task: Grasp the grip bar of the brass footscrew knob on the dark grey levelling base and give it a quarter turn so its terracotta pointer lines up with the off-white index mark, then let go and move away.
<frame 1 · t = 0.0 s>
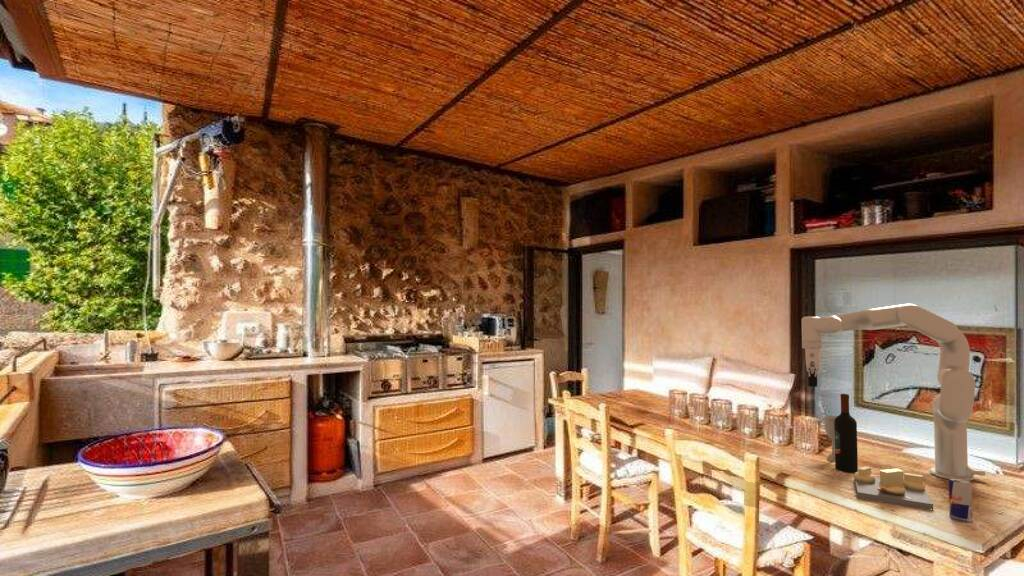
hand: (812, 384, 216), 31 cm above the table, tool pointing down, fingers open, 9 cm apart
chalice: (833, 460, 212), on the table
energy drink: (961, 520, 154), on the table
footscrew knob: (889, 481, 171), point 6 cm above the table, hinge at 0.0°
wine bottle: (846, 470, 199), on the table
levelling base: (890, 494, 174), on the table
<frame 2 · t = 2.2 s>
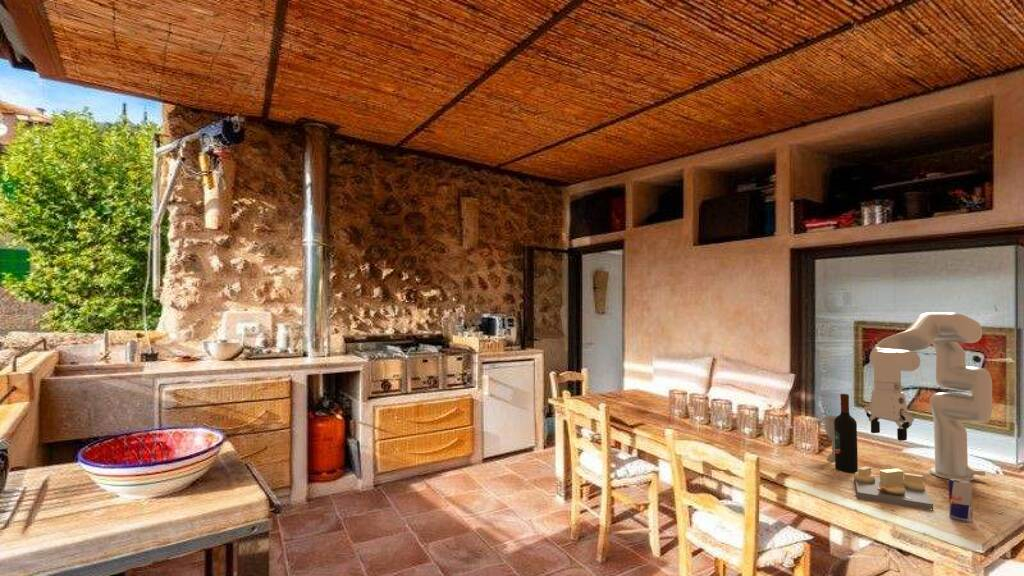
hand: (888, 436, 172), 21 cm above the table, tool pointing down, fingers open, 9 cm apart
nothing on the table moved.
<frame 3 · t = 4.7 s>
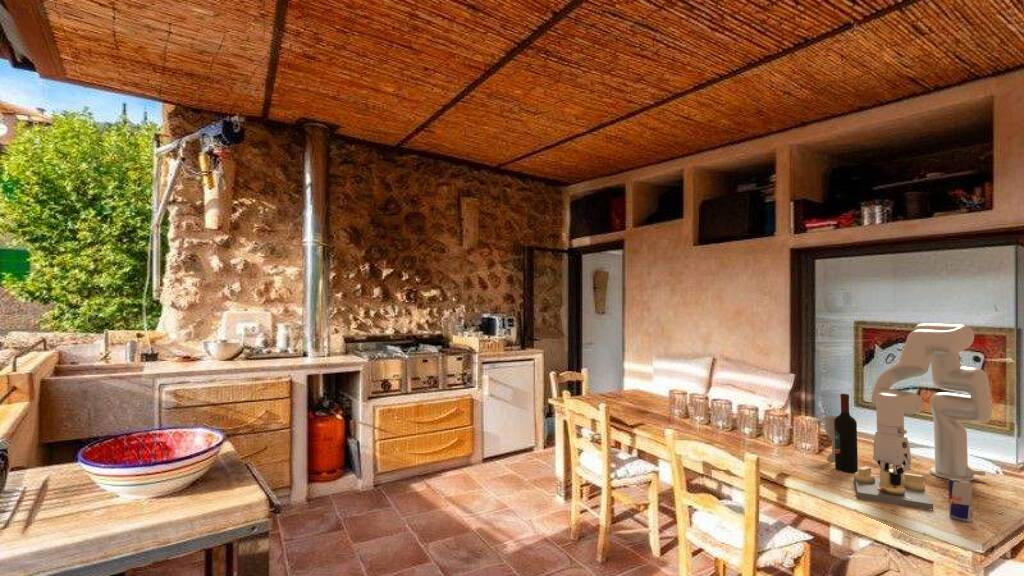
hand: (891, 483, 171), 5 cm above the table, tool pointing down, fingers closed on footscrew knob, 2 cm apart
footscrew knob: (889, 481, 171), point 6 cm above the table, hinge at 0.0°, touching gripper
everything else where it was.
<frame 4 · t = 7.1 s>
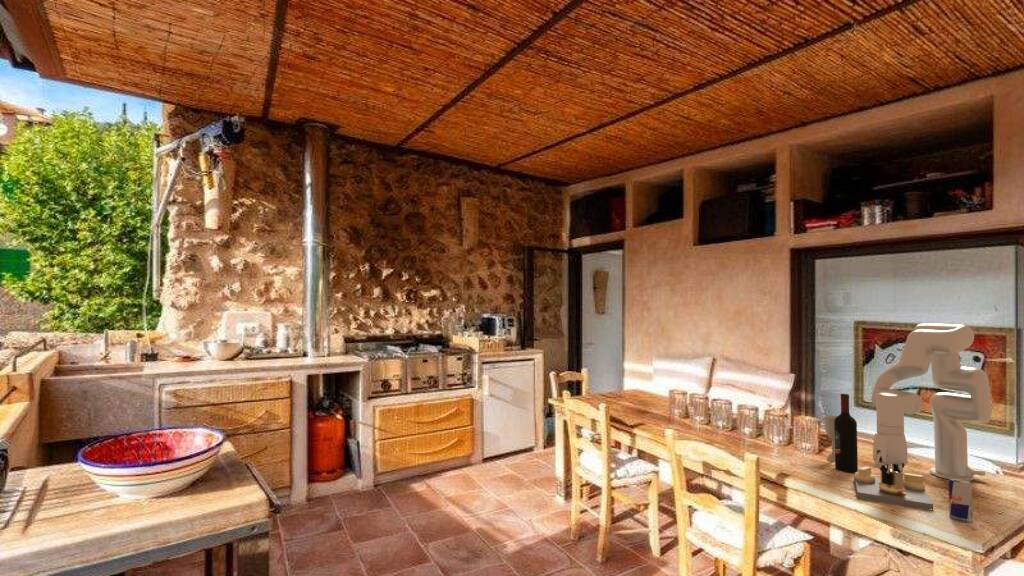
hand: (891, 483, 171), 5 cm above the table, tool pointing down, fingers closed on footscrew knob, 3 cm apart
footscrew knob: (893, 481, 170), point 6 cm above the table, hinge at 76.8°, touching gripper
everything else where it was.
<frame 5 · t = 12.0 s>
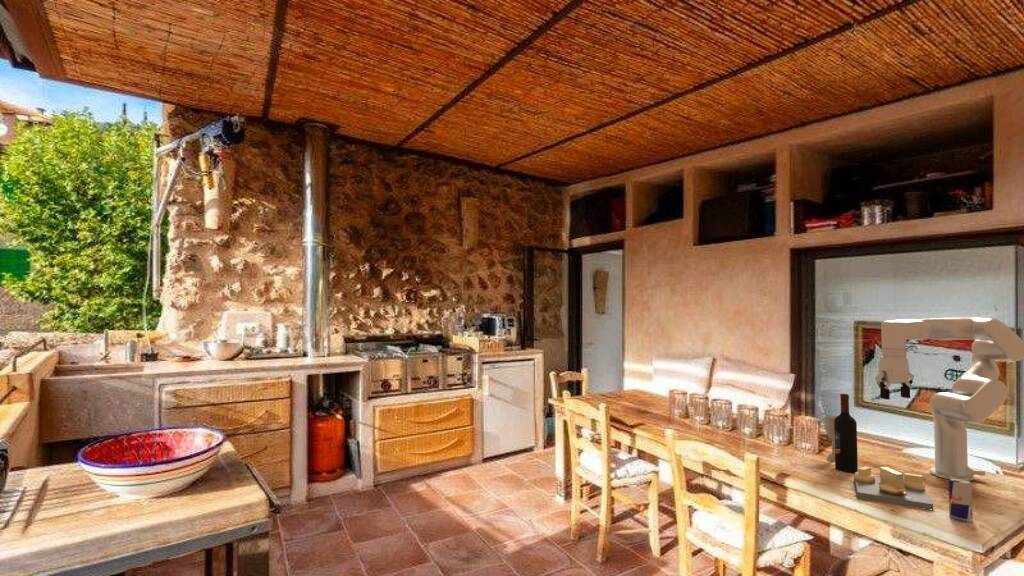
hand: (895, 398, 190), 30 cm above the table, tool pointing down, fingers open, 9 cm apart
footscrew knob: (894, 481, 170), point 6 cm above the table, hinge at 79.7°
everything else where it was.
at the end: footscrew knob at +80° (first picture: +0°); wine bottle moved 0.2 cm from its start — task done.
